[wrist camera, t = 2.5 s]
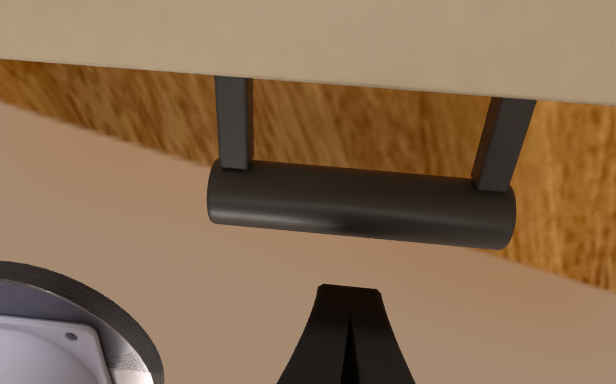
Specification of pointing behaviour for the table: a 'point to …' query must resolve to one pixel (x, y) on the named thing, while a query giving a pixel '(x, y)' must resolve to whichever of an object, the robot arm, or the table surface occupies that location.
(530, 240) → the table surface
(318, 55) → the drawer
